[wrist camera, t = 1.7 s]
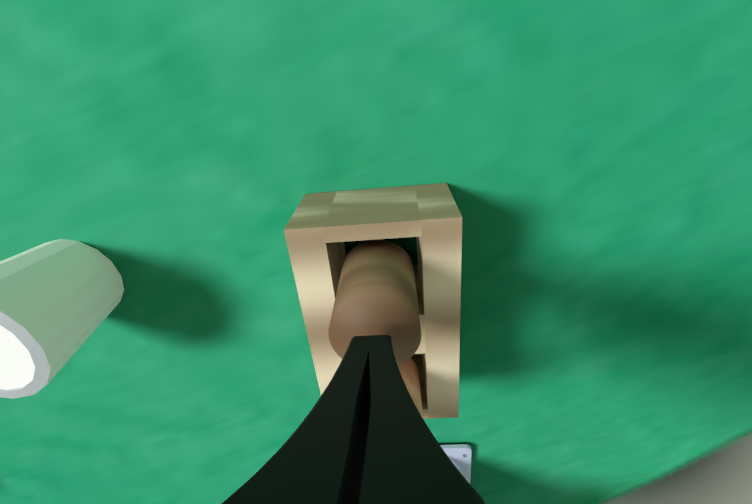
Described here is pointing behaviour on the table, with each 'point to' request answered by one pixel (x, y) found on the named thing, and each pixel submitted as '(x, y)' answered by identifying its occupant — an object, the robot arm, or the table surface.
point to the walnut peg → (377, 299)
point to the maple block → (432, 275)
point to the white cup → (50, 310)
